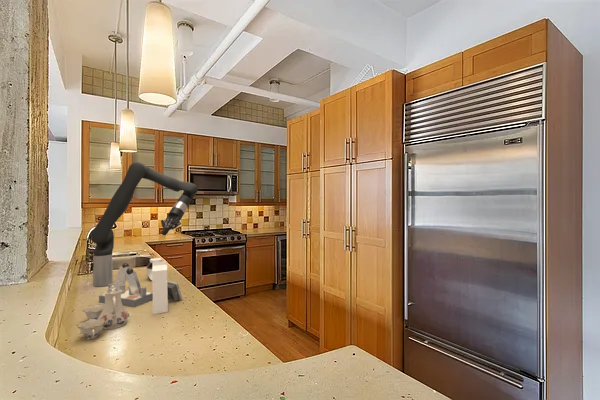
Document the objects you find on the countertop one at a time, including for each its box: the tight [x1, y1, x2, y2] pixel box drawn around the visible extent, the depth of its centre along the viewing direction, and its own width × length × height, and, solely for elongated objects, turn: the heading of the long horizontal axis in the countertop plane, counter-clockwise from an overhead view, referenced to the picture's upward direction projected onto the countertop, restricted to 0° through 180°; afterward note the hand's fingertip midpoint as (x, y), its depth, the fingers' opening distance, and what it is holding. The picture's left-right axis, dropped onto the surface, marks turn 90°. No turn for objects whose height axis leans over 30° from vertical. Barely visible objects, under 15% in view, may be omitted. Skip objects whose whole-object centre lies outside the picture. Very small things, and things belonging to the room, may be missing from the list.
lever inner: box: [113, 262, 131, 289], centre depth 160 cm, size 5×3×14 cm, turn 72°
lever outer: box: [125, 267, 142, 295], centre depth 151 cm, size 5×3×14 cm, turn 72°
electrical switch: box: [167, 280, 183, 303], centre depth 156 cm, size 9×5×9 cm, turn 57°
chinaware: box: [77, 285, 130, 340], centre depth 125 cm, size 28×17×17 cm, turn 34°
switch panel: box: [98, 282, 153, 308], centre depth 155 cm, size 22×12×7 cm, turn 72°
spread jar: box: [146, 257, 163, 281], centre depth 195 cm, size 12×11×12 cm
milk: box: [151, 260, 169, 315], centre depth 141 cm, size 6×6×22 cm
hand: (163, 234), depth 174 cm, fingers closed
